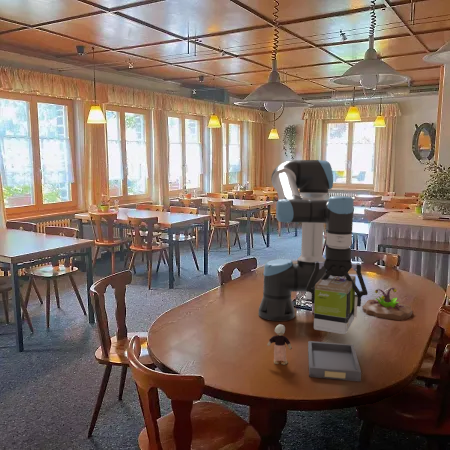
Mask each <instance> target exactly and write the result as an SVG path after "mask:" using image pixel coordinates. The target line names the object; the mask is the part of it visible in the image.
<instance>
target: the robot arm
mask: <svg viewBox="0 0 450 450" xmlns="http://www.w3.org/2000/svg"><path fill="white" fill-rule="evenodd" d="M270 177H271V180H270V181H271V185H272V186H273V188H274V189H275V190H276V193H277V196H278V199H277V201H276V206H275V216H276V217H275V218H276V220H277V221H278V222H279V223H287V224H289V223H300V224H301V254H300V256H299V257H298V258H297V263H294V262H293V260H292V259H288V258H277V259H272V260H269V261H267V262H265V264H264V268H263V274H262V275H263V287H262V288H263V291H262V293H263V296H262V298H261V301H260V304H259V307H258V316H259V317H260V318H262V319H264V320H268V321H270V322H271V321H273V322H285V321H291V320H293V319H294V318H295V316H296V311H295V307H294V303H293V300H292V292H296V293H300V292H303V293H305V292H306V293H310V294H311V300H310V301H311V304H313V305H314V300H315V284H316V283H317V282H318V281H319V280H320V279H321V280H327V278H329V276H330V275H331V276H339V277H343V276H345V277H346V279H347V280H348V281H352V288H353V289H354V291H355V295H354V305H353V316H354V318H357V315H358V314H357V313H358V307H361V306H362V297H363V296H368V293H369V291H368V289H367V287H366V283H365V280H364V278H363V275H362V265H361V264H360V263H359V262H357V263H352V262H351V261H352V259H351V258H352V248H351V246H352V238H353V225H354V224H353V223H354V222H353V221H354V210H355V206H354V204H355V203H354V198H353V197H352V196H346V195H345V196H344V195H332V196H330V197H329V198H327V199H325V198H326V197H327V195H328V194H329V190H331V189H333V187H334V174H333V168H332V165H331V163H330V162H329V161H327V160H322V159H291V160H290V159H289V160H286V161H283V162H281V163H279V164H278V165H277V166H276V167H275V168H274V169H273V171H272V173H271V176H270ZM324 224H327V227H326V229H327V230H326V242H325V244H326V245H327V246H326V248H325V257H324V256H323V246H324ZM351 269H353V271H354V272H355V273H356V276H357V278H358V279H357V280H358V283H359V285H360V288H361V290H360V289H359V288H358V286H357V285H356V282H355V283H354V281H353V280H352V278H351V277H350V276H351V275H350V274H349V271H350V270H351Z"/></svg>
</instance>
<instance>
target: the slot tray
mask: <svg viewBox="0 0 450 450" xmlns="http://www.w3.org/2000/svg"><path fill="white" fill-rule="evenodd" d="M307 343H308V345H307V349H308V350H307V354H308V356H307V357H308V377H309V378H319V379H328V380H339V381H340V380H341V381H351V382H361V381H362V380H361V379H362V370H361V367H360V363H359V359H358V356H357V353H356V349H355V346H354V344H352V343H351V344H349V343H338V342H337V343H336V342H325V341H313V340H308V342H307Z"/></svg>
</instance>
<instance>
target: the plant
mask: <svg viewBox="0 0 450 450" xmlns="http://www.w3.org/2000/svg"><path fill="white" fill-rule="evenodd" d="M391 290H392V291H393V292H394V293H397V291H398V290H397V289H396V288H395V287H390V288H389V289H388V290H387V292H385V291H384V290H382V289H379V288H378V289H376V290H375V291H374V293H375V294H377V293H379V291H380V292H381V293H382V294H383V295H381V296H378V297H375V299H368V300H367V301H366V302H365V303H364V304H363V306H362V312H363V313H364V314H365V315H367V316H368V315H370V316H373V317H375V318H381V319H389V320H394V321H395V320H396V321H402V320H404V319H405V320H406V319H409V318H411V316H412V315H413V310H412V307H411V305H408V304H405V303H403V302H400V301H397V300H398V297H393V298H391V297H390V296H391V294H390V293H391V292H392V291H391Z"/></svg>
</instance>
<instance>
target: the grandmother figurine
mask: <svg viewBox="0 0 450 450" xmlns="http://www.w3.org/2000/svg"><path fill="white" fill-rule="evenodd" d="M285 331H286V327H285V325H283V324H280V323H279V324H278V325H276V327H275V328H274V333H276V335H273V336H271V337H270V338H269V339H268V343H267V344H266V346H267V347H271V345H272V344H274V346H273V363H274V365H279V364H281V365H283V366H284V365H287V364H288V360H287V349H286V347H288V349H289V350H291V349H292V347H293V346H292V345H291V341H290V340H289V339H288V337H287V336H285V335H284V334H285Z"/></svg>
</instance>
